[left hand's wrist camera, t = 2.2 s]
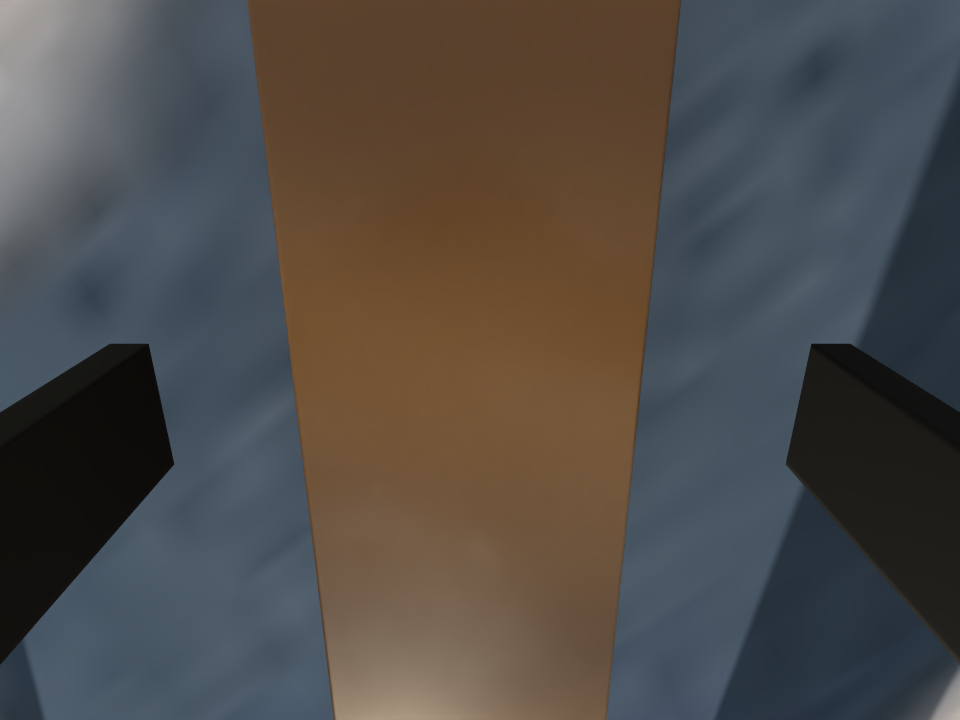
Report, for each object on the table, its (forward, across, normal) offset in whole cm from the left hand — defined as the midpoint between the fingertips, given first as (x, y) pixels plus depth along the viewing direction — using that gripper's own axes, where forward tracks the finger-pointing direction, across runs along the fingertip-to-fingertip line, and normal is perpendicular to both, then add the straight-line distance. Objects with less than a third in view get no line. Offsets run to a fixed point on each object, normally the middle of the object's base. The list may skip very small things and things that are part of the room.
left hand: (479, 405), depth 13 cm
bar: (+5, 0, -24) cm, 25 cm away
